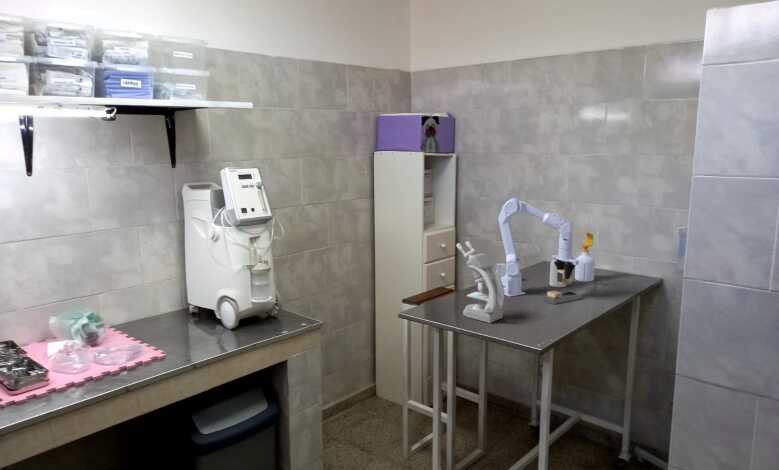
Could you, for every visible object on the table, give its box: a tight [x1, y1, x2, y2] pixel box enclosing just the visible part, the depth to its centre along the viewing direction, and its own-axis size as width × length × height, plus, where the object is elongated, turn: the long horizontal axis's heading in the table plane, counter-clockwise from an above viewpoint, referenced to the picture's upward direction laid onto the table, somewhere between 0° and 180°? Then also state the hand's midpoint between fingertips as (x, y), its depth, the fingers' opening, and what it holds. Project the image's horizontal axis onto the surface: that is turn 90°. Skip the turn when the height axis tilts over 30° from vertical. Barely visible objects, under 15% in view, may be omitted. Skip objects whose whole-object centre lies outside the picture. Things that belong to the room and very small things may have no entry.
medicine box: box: [495, 263, 507, 279], centre depth 280 cm, size 8×4×9 cm, turn 84°
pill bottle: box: [549, 253, 568, 288], centre depth 269 cm, size 8×8×15 cm
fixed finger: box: [546, 290, 562, 299], centre depth 245 cm, size 4×5×3 cm
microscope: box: [455, 240, 505, 324], centre depth 225 cm, size 11×19×30 cm, turn 45°
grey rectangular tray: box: [542, 290, 583, 305], centre depth 247 cm, size 16×7×2 cm, turn 116°
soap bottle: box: [574, 231, 596, 283], centre depth 278 cm, size 9×9×25 cm
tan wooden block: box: [557, 269, 573, 285], centre depth 250 cm, size 5×4×6 cm, turn 116°
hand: (564, 277), depth 250 cm, fingers closed on tan wooden block, 3 cm apart
